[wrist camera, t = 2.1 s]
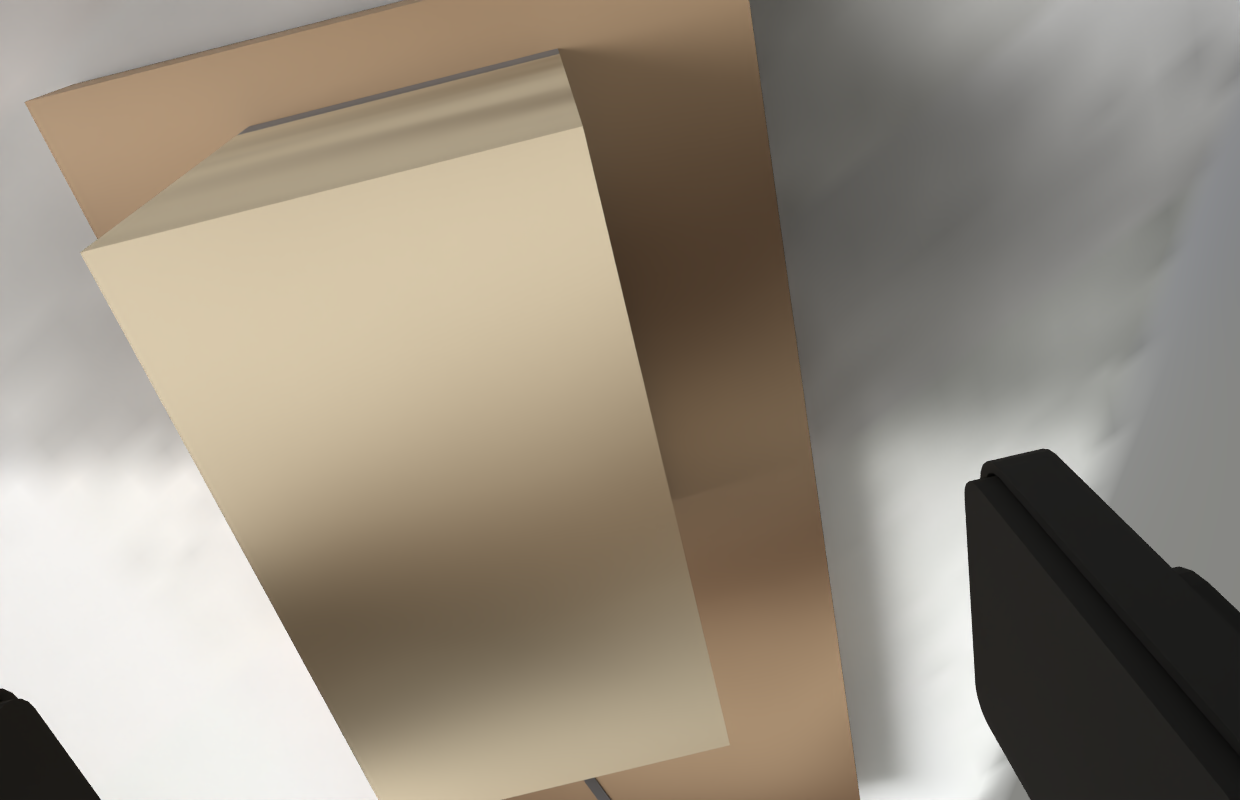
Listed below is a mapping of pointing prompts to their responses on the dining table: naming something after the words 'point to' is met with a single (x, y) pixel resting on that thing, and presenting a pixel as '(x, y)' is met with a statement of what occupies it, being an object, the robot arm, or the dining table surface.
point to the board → (653, 294)
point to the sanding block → (430, 429)
